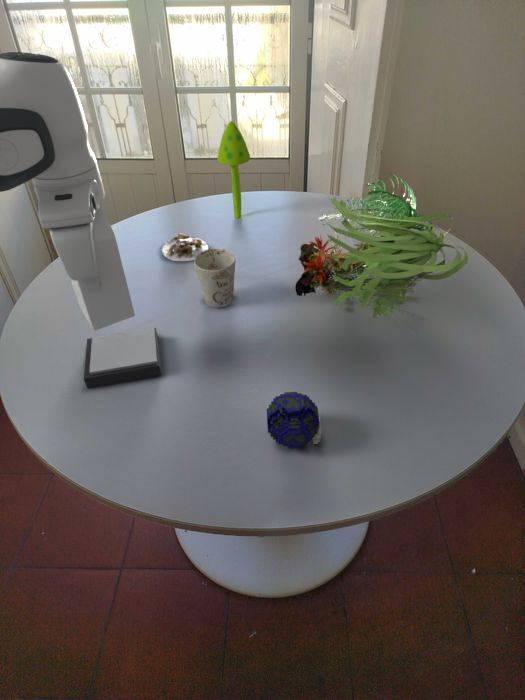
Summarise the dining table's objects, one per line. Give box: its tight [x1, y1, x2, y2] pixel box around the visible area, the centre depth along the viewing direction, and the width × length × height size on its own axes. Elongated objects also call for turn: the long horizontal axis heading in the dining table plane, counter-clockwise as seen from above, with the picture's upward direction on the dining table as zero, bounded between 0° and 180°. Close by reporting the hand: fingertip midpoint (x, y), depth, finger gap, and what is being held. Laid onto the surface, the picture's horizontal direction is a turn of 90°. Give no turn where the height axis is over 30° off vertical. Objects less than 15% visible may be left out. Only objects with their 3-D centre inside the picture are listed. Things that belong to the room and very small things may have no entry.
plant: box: [294, 173, 469, 332], centre depth 91 cm, size 30×30×35 cm
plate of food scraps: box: [161, 232, 210, 263], centre depth 116 cm, size 12×12×4 cm
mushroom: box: [216, 120, 251, 220], centre depth 121 cm, size 8×8×25 cm
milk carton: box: [69, 201, 136, 331], centre depth 73 cm, size 7×7×19 cm
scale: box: [83, 327, 162, 389], centre depth 86 cm, size 13×11×3 cm
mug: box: [193, 248, 236, 309], centre depth 99 cm, size 8×13×10 cm, turn 16°
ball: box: [266, 391, 322, 449], centre depth 71 cm, size 8×8×8 cm
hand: (96, 272), depth 74 cm, fingers closed on milk carton, 8 cm apart
